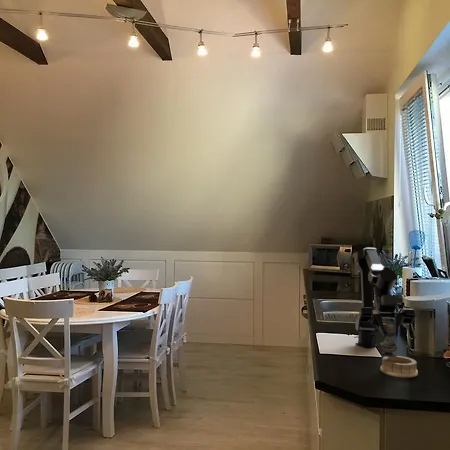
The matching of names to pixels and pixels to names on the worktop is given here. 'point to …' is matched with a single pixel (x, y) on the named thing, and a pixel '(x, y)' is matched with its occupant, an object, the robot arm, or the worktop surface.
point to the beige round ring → (399, 366)
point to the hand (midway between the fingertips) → (390, 336)
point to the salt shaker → (389, 341)
